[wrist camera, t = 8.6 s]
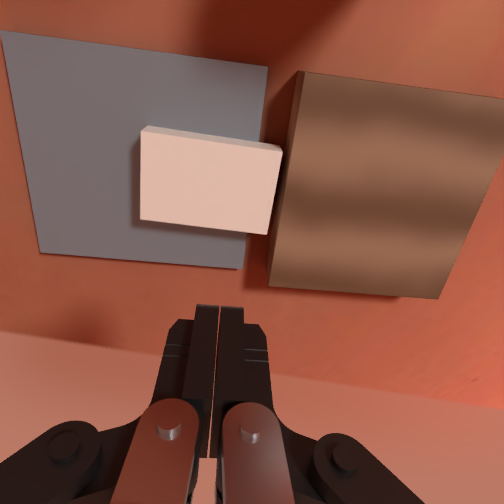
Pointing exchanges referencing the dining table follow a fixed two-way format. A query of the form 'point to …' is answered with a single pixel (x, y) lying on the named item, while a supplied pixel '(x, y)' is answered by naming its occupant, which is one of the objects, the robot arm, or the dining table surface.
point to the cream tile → (207, 180)
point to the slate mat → (120, 141)
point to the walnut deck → (380, 185)
